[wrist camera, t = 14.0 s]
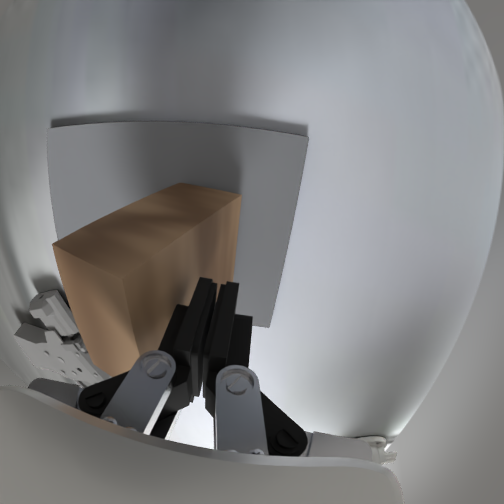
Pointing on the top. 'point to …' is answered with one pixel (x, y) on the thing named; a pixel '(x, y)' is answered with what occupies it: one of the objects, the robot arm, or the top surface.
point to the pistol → (57, 341)
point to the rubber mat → (190, 172)
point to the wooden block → (145, 268)
